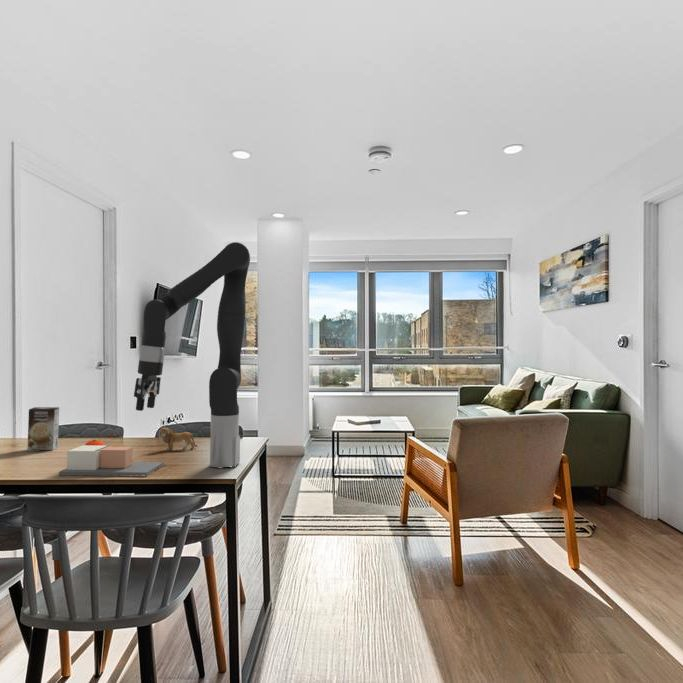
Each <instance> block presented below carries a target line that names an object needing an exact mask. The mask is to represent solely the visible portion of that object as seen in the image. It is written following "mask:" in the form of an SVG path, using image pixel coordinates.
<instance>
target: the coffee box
mask: <svg viewBox="0 0 683 683" xmlns="http://www.w3.org/2000/svg"><path fill="white" fill-rule="evenodd" d="M59 421H60V407H59V406H58V407H57V406H55V407H49V406H48V407H47V406H44V407H43V406H42V407H40V406H39V407H37V406H36V407H32V408H29V409H28V422H27V423H28V426H27V428H28V429H27V448H26V450H27V452H40V451H39V450H53V451H55V450H56V449H57V448H59V427H60V426H59V424H60V422H59ZM54 449H55V450H54Z"/></svg>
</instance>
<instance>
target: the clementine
mask: <svg viewBox="0 0 683 683" xmlns="http://www.w3.org/2000/svg"><path fill="white" fill-rule="evenodd" d="M84 445H95V446H106V445H105V444H104V442H103V441H102V440H101V439H99V438H98V439H97V438H96V439H95V438H94V439H91V440H89V441H87V442H86V443H85V444H84Z"/></svg>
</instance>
